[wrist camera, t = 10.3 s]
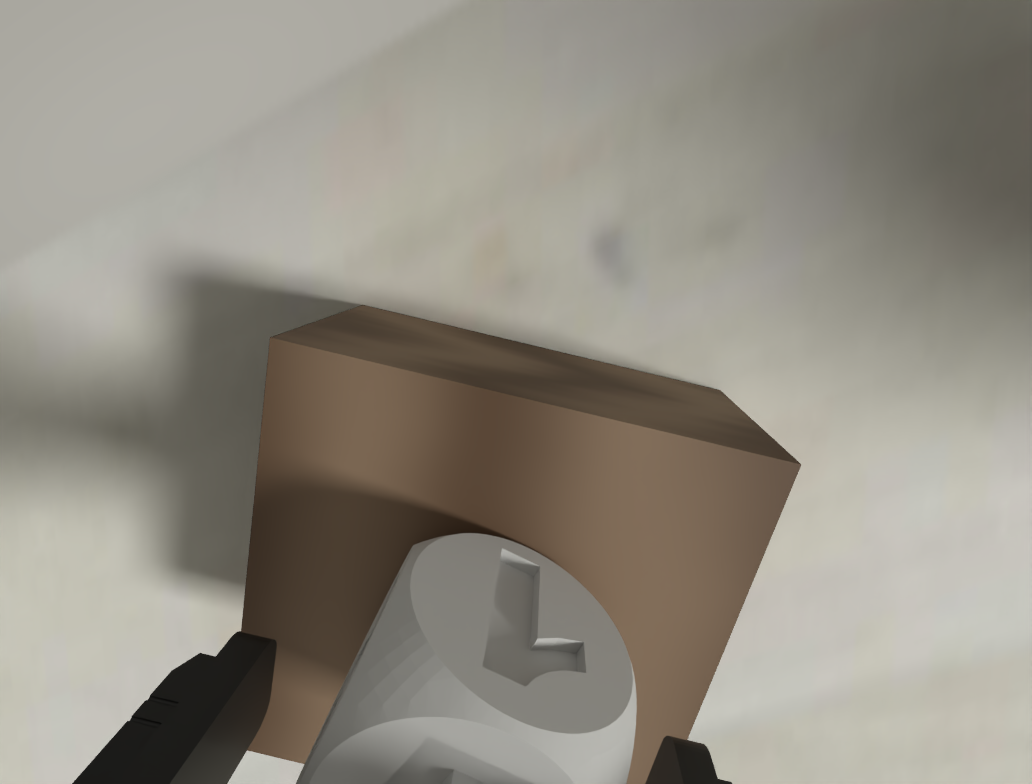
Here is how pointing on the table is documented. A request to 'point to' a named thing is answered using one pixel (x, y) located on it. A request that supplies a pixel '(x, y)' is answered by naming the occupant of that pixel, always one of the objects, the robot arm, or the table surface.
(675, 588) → the pedestal
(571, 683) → the die
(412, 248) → the table surface
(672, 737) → the robot arm
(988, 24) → the table surface
